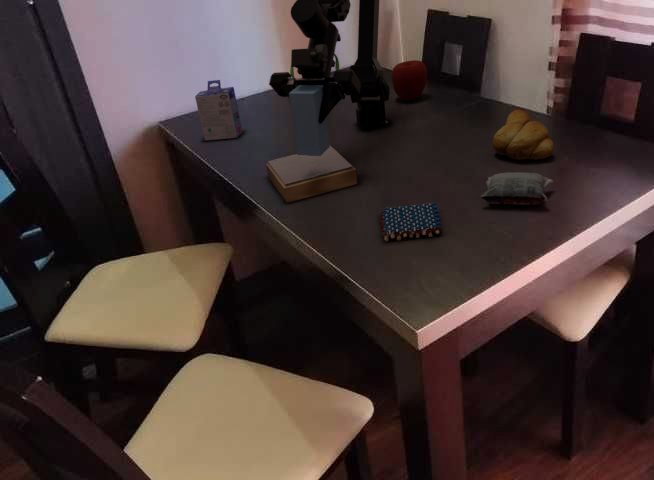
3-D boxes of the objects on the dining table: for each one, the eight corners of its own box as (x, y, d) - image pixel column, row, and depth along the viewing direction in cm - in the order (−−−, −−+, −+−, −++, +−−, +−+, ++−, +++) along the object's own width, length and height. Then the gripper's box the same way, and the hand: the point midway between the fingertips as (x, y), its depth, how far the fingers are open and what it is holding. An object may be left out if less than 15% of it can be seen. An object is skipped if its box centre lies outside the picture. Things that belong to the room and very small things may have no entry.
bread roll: (563, 155, 129) (567, 116, 124) (527, 170, 126) (530, 131, 121) (517, 141, 139) (519, 104, 134) (483, 154, 136) (484, 117, 131)
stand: (333, 160, 147) (331, 143, 144) (357, 184, 134) (355, 166, 132) (268, 177, 145) (265, 161, 142) (286, 203, 132) (283, 185, 129)
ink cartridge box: (243, 131, 174) (232, 77, 165) (238, 138, 170) (227, 83, 161) (210, 134, 176) (197, 81, 168) (204, 141, 172) (191, 87, 163)
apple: (392, 95, 178) (390, 58, 172) (426, 91, 176) (425, 53, 170) (392, 106, 170) (390, 68, 165) (428, 102, 169) (427, 63, 163)
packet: (329, 146, 135) (323, 85, 127) (320, 156, 132) (313, 93, 124) (306, 145, 137) (299, 85, 129) (297, 155, 134) (288, 93, 126)
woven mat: (380, 216, 120) (379, 206, 119) (436, 210, 119) (436, 200, 117) (382, 242, 112) (381, 232, 111) (442, 236, 110) (442, 226, 109)
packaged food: (487, 188, 123) (488, 164, 120) (552, 190, 118) (555, 165, 115) (479, 209, 117) (480, 184, 114) (547, 212, 112) (549, 186, 109)
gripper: (264, 31, 127) (249, 105, 126) (349, 25, 119) (334, 104, 118) (287, 61, 137) (273, 129, 136) (367, 56, 129) (353, 129, 128)
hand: (306, 122), depth 129 cm, fingers closed on packet, 5 cm apart
